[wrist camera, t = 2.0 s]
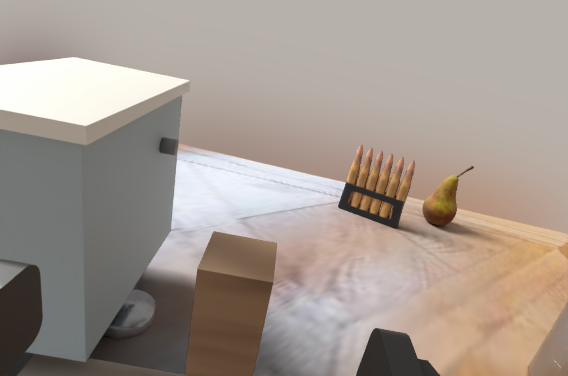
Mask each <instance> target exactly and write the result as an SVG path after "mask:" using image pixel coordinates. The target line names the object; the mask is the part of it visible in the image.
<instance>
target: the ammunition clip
mask: <svg viewBox="0 0 568 376" xmlns="http://www.w3.org/2000/svg"><path fill="white" fill-rule="evenodd" d="M362 154H363V146H362V145H361V146H360V147H359V149H358V151H357V153H356V156H355V158H354V161H353V164H352V166H351V168H350V172H349V175H348V179H347V182H346V184H345V187H344V190H343V193H342V196H341V199H340V202H339V205H338V207H339V208H340V209H343V210H346V211H349V212H351V213H354V214H357V215H359V216H362V217H365V218H368V219H370V220H373V221H376V222H378V223H381V224H384V225H387V226H389V227H392V228H395V229H396V228H397V226H398V223H399V220H400V216H401V213H402V209H403V207H404V204H405V201H406V198H407V195H408V192H409V189H410V185H411V180H412V176H413V173H414V167H415V162H414V161H412V162H411V164H410V165H409V167H408V169H407V171H406V173H405V176H404V178H403V180H402V182H401V184H400V187H399V190H398V186H399V183H400V177H401V173H402V170H403V165H404V158H403V157H402V158H401V159H400V161H399V162H398V164H397V166H396V168H395V171H394V173H393V176H392V178H391V180H390V182H389V176H390V172H391V168H392V164H393V155H392V154H391V155H390V156H389V158H388V159H387V161H386V164H385V166H384V169H383V172H382V174H381V176H380V178H379V172H380V168H381V164H382V159H383V152H382V151H381V152H380V153H379V154H378V156H377V158H376V160H375V163H374V166H373V169H372V171H371V173H370V175H369V171H370V165H371V161H372V156H373V150H372V148H371V149H370V150H369V152H368V153H367V155H366V157H365V160H364V163H363V166H362V169H361V170H360V164H361V159H362ZM359 170H360V173H359ZM358 174H359V176H358ZM368 176H369V179H368ZM357 178H358V180H357ZM367 179H368V182H367ZM378 179H379V181H378ZM356 181H357V182H356ZM377 182H378V184H377ZM388 182H389V185H388ZM366 183H367V185H366ZM376 185H377V187H376ZM387 185H388V188H387ZM375 188H376V189H375ZM386 188H387V191H386ZM397 190H398V193H397V195H396V192H397ZM385 191H386V192H385ZM353 192H354V193H353ZM352 195H353V197H352ZM362 196H363V198H362ZM372 198H373V200H372ZM351 199H352V200H351ZM361 200H362V201H361ZM382 201H383V203H382ZM371 202H372V203H371ZM360 203H361V204H360ZM381 204H382V206H381ZM370 205H371V206H370ZM392 205H393V207H392ZM380 207H381V209H380ZM391 208H392V210H391ZM379 210H380V212H379ZM390 211H391V213H390ZM389 214H390V215H389Z"/></svg>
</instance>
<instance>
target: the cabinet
mask: <svg viewBox="0 0 568 376" xmlns="http://www.w3.org/2000/svg"><path fill="white" fill-rule="evenodd" d="M189 88H190V81H189V80H185V79H180V78H175V77H170V76H165V75H160V74H155V73H150V72H145V71H140V70H135V69H130V68H125V67H120V66H115V65H109V64H105V63H100V62H95V61H90V60H85V59H80V58H75V57H74V58H65V59H56V60H46V61H37V62H27V63H18V64H9V65H0V259H5V260H11V261H16V262H22V263H27V264H33V265H36V266H37V267H38V268H39V270H40V277H41V294H42V311H43V320H42V325H41V328H40V331H39V333H38V335H37V337H36V339H35V340H34V342H33V343H32V345H31V346H30V347H29V348H28V349H27V351H26V352H25V353H24V354H23V355H22V356H21V357H20V359H19V360H18V361H17V362H16V363H15V364H14V366H13V367H12V368H11V369H10V370H9V371H8V372H7V374H6V375H5V376H17V374H18V373H19V372H20V371H21V370H22V368H23V367H24V366H25V365H26V364H27V362H28V361H29V360H30V359H31V357H32V356H33V355H34V354H40V355H46V356H52V357H58V358H64V359H70V360H76V361H82V362H86V361H87V359H88V358H89V356H90V355H91V353H92V351H93V350H94V348H95V347H96V345H97V344H98V342H99V341H100V339H101V338H102V336H103V334H104V333H105V331H106V330H107V328H108V327H109V325H110V324H111V322H112V321H113V319H114V317H115V316H116V314H117V313H118V311H119V310H120V308H121V307H122V305H123V304H124V302H125V301H126V299H127V297H128V296H129V294H130V293H131V291H132V290H133V288H134V287H135V285H136V284H137V282H138V280H139V279H140V277H141V276H142V274H143V273H144V271H145V270H146V268H147V267H148V265H149V263H150V262H151V260H152V259H153V257H154V256H155V254H156V253H157V251H158V250H159V248H160V247H161V245H162V243H163V242H164V240H165V239H166V237H167V236H168V234H169V233H170V231H171V220H172V209H173V197H174V185H175V174H176V162H177V150H178V138H179V127H180V114H181V102H182V95H183V94H185V93H187V92H188V91H189Z"/></svg>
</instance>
